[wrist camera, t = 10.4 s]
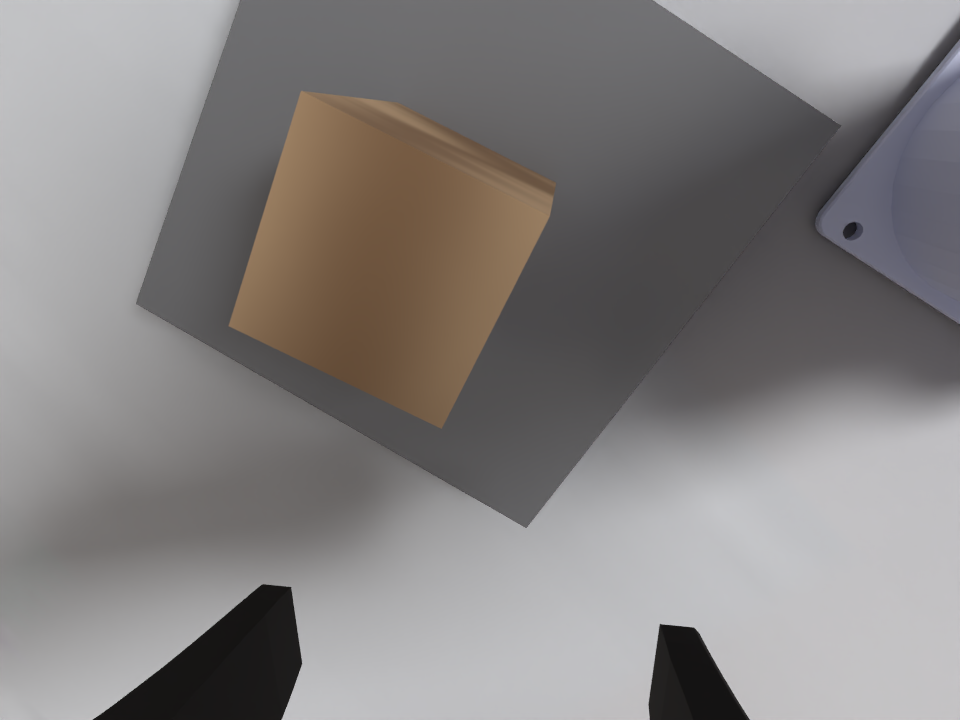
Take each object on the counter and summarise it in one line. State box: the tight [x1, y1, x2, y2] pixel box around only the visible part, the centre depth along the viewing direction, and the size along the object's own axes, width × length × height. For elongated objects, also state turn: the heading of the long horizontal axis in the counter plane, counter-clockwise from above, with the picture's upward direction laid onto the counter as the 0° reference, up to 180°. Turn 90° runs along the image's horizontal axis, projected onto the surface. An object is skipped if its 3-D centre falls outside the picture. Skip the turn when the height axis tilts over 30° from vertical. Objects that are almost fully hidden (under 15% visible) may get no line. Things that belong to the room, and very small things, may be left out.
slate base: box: [136, 0, 841, 528], centre depth 18 cm, size 14×14×3 cm
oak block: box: [229, 91, 556, 429], centre depth 13 cm, size 4×4×6 cm
